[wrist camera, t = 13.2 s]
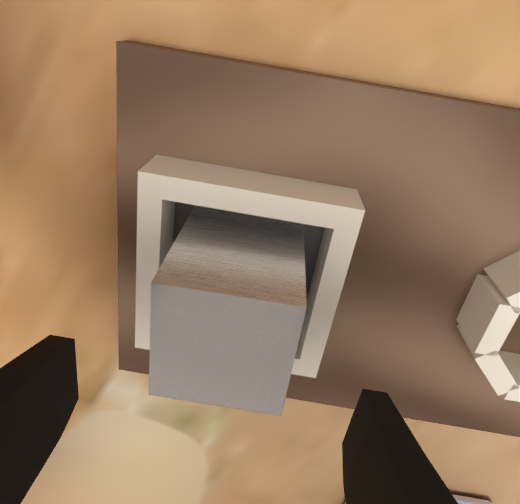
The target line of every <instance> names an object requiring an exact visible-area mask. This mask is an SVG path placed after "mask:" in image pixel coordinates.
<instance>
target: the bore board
mask: <svg viewBox="0 0 520 504" xmlns="http://www.w3.org/2000/svg"><path fill="white" fill-rule="evenodd" d="M116 49H117V183H118V316H119V369H120V370H126V371H132V372H138V373H144V374H149V359H150V310H151V282H152V280H153V278H154V276H155V275H156V273H157V271H158V269H159V268H160V266H161V264H162V262H163V261H164V259H165V257H166V255H167V254H168V252H169V250H170V248H171V247H172V245H173V243H174V241H175V240H176V238H177V236H178V234H179V233H180V231H181V229H182V227H183V226H184V224H185V222H186V220H187V219H188V217H189V215H190V213H191V211H192V210H193V208H194V206H195V205H197V206H203V207H209V208H214V209H220V210H226V211H232V212H238V213H243V214H249V215H255V216H261V217H267V218H273V219H278V220H284V221H290V222H296V223H302V224H303V228H304V252H305V276H306V300H307V309H306V313H305V317H304V321H303V326H302V330H301V334H300V338H299V342H298V347H297V351H296V355H295V359H294V364H293V368H292V372H291V376H290V381H289V385H288V389H287V393H286V398H292V399H298V400H304V401H310V402H316V403H321V404H327V405H333V406H339V407H345V408H351V409H355V408H356V405H357V403H358V400H359V397H360V394H361V392H362V389H368V390H374V391H380V392H386V393H388V395H389V396H390V398H391V399H392V401H393V403H394V404H395V406H396V408H397V409H398V411H399V413H400V414H401V416H402V417H404V418H410V419H416V420H422V421H428V422H434V423H440V424H446V425H452V426H457V427H463V428H469V429H475V430H481V431H487V432H493V433H499V434H505V435H511V436H517V437H520V109H517V108H511V107H505V106H500V105H494V104H488V103H482V102H477V101H471V100H465V99H459V98H454V97H448V96H442V95H437V94H431V93H425V92H419V91H414V90H408V89H402V88H396V87H391V86H385V85H379V84H374V83H368V82H362V81H356V80H351V79H345V78H339V77H333V76H328V75H322V74H316V73H311V72H305V71H299V70H293V69H288V68H282V67H276V66H270V65H265V64H259V63H253V62H248V61H242V60H236V59H230V58H225V57H219V56H213V55H207V54H202V53H196V52H190V51H185V50H179V49H173V48H167V47H162V46H156V45H150V44H144V43H139V42H133V41H116Z"/></svg>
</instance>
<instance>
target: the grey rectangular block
mask: <svg viewBox="0 0 520 504" xmlns="http://www.w3.org/2000/svg"><path fill="white" fill-rule="evenodd" d="M306 309H307V300H306V276H305V252H304V228H303V224H302V223H296V222H290V221H284V220H278V219H273V218H267V217H261V216H255V215H249V214H243V213H238V212H232V211H226V210H220V209H214V208H209V207H203V206H197V205H195V206H194V208H193V210H192V211H191V213H190V215H189V217H188V219H187V220H186V222H185V224H184V226H183V227H182V229H181V231H180V233H179V234H178V236H177V238H176V240H175V241H174V243H173V245H172V247H171V248H170V250H169V252H168V254H167V255H166V257H165V259H164V261H163V262H162V264H161V266H160V268H159V269H158V271H157V273H156V275H155V276H154V278H153V280H152V282H151V310H150V359H149V395H154V396H160V397H166V398H173V399H179V400H185V401H191V402H198V403H204V404H210V405H217V406H223V407H229V408H235V409H242V410H248V411H254V412H261V413H267V414H273V415H280V416H281V414H282V410H283V406H284V402H285V397H286V393H287V389H288V385H289V381H290V376H291V372H292V368H293V364H294V359H295V355H296V351H297V347H298V342H299V338H300V334H301V330H302V326H303V321H304V317H305V313H306Z"/></svg>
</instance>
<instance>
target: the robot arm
mask: <svg viewBox="0 0 520 504" xmlns="http://www.w3.org/2000/svg"><path fill="white" fill-rule="evenodd" d="M77 401H78V383H77V369H76V354H75V340H74V339H71V338H65V337H59V336H53V335H49V336H48V337H46V338H45V339H43V340H42V341H40V342H39V343H37V344H36V345H34V346H33V347H31V348H30V349H28V350H27V351H25V352H24V353H22V354H21V355H19V356H18V357H16V358H15V359H13V360H12V361H11V362H9V363H8V364H6V365H5V366H3V367H2V368H0V504H20V503H21V502H22V500H23V499H24V497H25V495H26V494H27V492H28V490H29V489H30V487H31V486H32V484H33V482H34V481H35V479H36V477H37V476H38V474H39V473H40V471H41V469H42V468H43V466H44V464H45V463H46V461H47V459H48V458H49V456H50V454H51V453H52V451H53V449H54V448H55V446H56V444H57V443H58V441H59V439H60V438H61V435H62V433H63V431H64V429H65V427H66V425H67V423H68V421H69V419H70V416H71V414H72V412H73V410H74V407H75V405H76V403H77ZM342 451H343V483H344V493H345V501H346V502H345V504H493V503H492V502H491V501H488V500H483V499H477V498H471V497H465V496H459V495H453V494H451V492H450V491H449V489H448V488H447V487H446V485H445V484H444V482H443V481H442V479H441V478H440V476H439V475H438V473H437V472H436V470H435V469H434V467H433V466H432V464H431V462H430V461H429V459H428V458H427V456H426V455H425V453H424V452H423V450H422V449H421V447H420V445H419V444H418V442H417V441H416V439H415V437H414V436H413V434H412V432H411V431H410V429H409V428H408V426H407V424H406V423H405V421H404V419H403V418H402V416H401V414H400V413H399V411H398V409H397V408H396V406H395V404H394V403H393V401H392V399H391V398H390V396H389V395H388V393H386V392H380V391H374V390H368V389H362V392H361V394H360V397H359V400H358V403H357V405H356V408H355V411H354V413H353V416H352V419H351V421H350V424H349V427H348V430H347V432H346V435H345V438H344V440H343V443H342Z"/></svg>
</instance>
